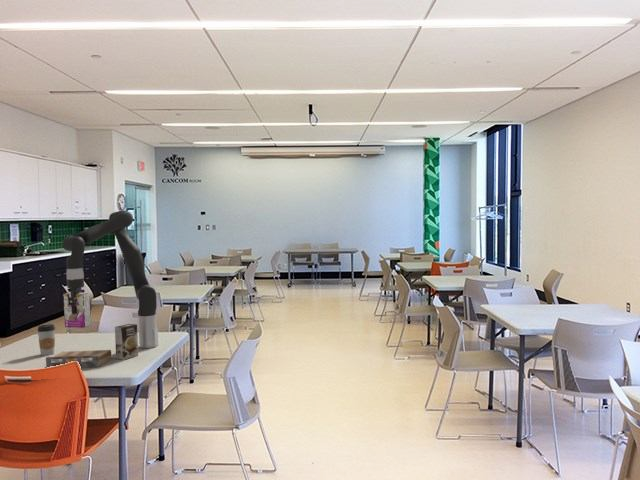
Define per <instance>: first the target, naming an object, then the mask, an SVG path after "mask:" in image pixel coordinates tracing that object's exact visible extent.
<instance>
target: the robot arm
mask: <svg viewBox="0 0 640 480" xmlns="http://www.w3.org/2000/svg"><path fill="white" fill-rule="evenodd" d="M133 222H134V216H133V214H132V213H131V212H130V211H129V210H124V209H122V210H118V211H114V212H112V213H110V215H109V218H108V220H105V221H103V222H100V223H98V224H95V225H93V226H90V227H88V228H86V229H84V230H83V231H79V232H77V233H74V234H70V235H68V236H66V237H65V238H64V239H63V240H62V245H61V247H62V248H63V249H64V250H65V251H67V252H71V253H70V256H68V257H66V261H65V262H66V287H67V288H68V289H69V290H70V292H67V293H68V294H67V296H68V303H69V305H71V307H72V314H76V313H77V306H76V305H77V300H78V299H77V297H76V294H79V293H86V291H85V289H82V288H84V287H85V277H84V276H85V274H84V266H83V264H84V263H83V259H84V258H83V257H84V254H85V249H86V248H85V247H86V245H89V244H92V243H94V242H96V241H97V240H99V239H102V238H103V237H105V236H107V235H108V234H111V233H113V234H114V236H115V239H116V240H117V244H118V247H119V249H120V251H121V254H122V257H123V261H124V264H125V266H126V268H127V271H128V273H129V275H130V278H131V280H132V284H133V288H134V293H135V296H136V298H137V300H138V310H137V320H138V321H137V322H138V324H137V326H138V346H139V348H141V349H152V348H156V347H157V346H159V328H158V327H157V309H158V308H157V292H156V289H155V288H154V287H153V286H151V285H150V284H149V283H150V282H149V281H148V279H147V276H146V270H145V263H144V262H145V261H144V258H143V255H142V252H141V250H140V248H139V246H138V245H137V244H136V242H134V240H133V239H131V237H130V236H129V233H128V231H127V229H126V228H128V227H130V226H131V225H132V223H133ZM75 297H76V299H74V298H75ZM70 301H71V302H70Z"/></svg>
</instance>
